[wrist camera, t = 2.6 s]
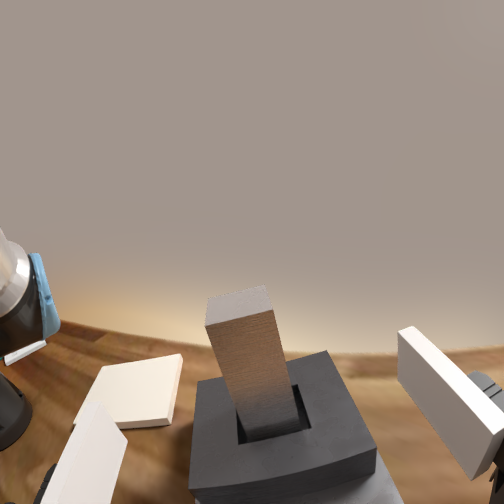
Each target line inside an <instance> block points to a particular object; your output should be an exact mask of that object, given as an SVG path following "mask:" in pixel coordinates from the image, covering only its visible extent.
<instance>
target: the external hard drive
mask: <svg viewBox="0 0 504 504" xmlns="http://www.w3.org/2000/svg"><path fill="white" fill-rule="evenodd" d="M45 345H47V344H46V342H45V340H44V341H38V342H36V343H33V344H31V345H29V346H27V347H24V348H22V349H20V350H17V351H15V352H13V353H11V354H8V355H6V356H4V358H5V364H6V365H7V366H8V365H10V364H11V363H13V362H15V361H17V360H19V359H21V358H23V357H25V356H26V355H28V354H30V353H32V352H34V351H36V350H38V349H40V348H41V347H43V346H45Z"/></svg>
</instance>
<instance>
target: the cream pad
mask: <svg viewBox="0 0 504 504" xmlns="http://www.w3.org/2000/svg"><path fill="white" fill-rule="evenodd" d="M182 362H183V359H182V356H181V354H175V355H170V356H165V357H159V358H154V359H148V360H142V361H136V362H130V363H124V364H117V365H110V366H103V367H102V369H101V371H100V372H99V374H98V376H97V378H96V380H95V382H94V384H93V385H92V387H91V389H90V391H89V393H88V395H87V397H86V399H85V401H84V403H83V405H82V406H81V408H80V410H79V412H78V414H77V416H76V418H75V420H74V422H73V424H74V426H76V424H77V422H78V420H79V418H80V416H81V414H82V412H83V410H84V408H85V406H86V404H87V403H88V402H96V401H101V402H102V404H103V405H104V407H105V409H106V410H107V412H108V413H109V415H110V416H111V418H112V419H113V421H114V422H115V424H116V425H117V427H118V428H119V429H125V428H140V427H151V426H162V425H171V421H172V416H173V410H174V405H175V399H176V394H177V388H178V383H179V378H180V373H181V367H182Z"/></svg>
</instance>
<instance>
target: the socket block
mask: <svg viewBox="0 0 504 504" xmlns="http://www.w3.org/2000/svg"><path fill="white" fill-rule="evenodd" d="M286 366H287V370H288V374H289V378H290V383H291V387H292V391H293V395H294V400H295V404H296V408H297V412H298V417H299V421H300V425H301V429H302V431H300V432H296V433H292V434H288V435H284V436H280V437H275V438H271V439H266V440H262V441H257V442H252V443H250V442H249V439H248V437H247V435H246V432H245V430H244V428H243V425H242V423H241V420H240V418H239V415H238V413H237V410H236V408H235V406H234V403H233V400H232V398H231V395H230V393H229V390H228V388H227V385H226V383H225V380H224V377H219V378H214V379H208V380H203V381H198V384H197V394H196V403H195V413H194V424H193V435H192V446H191V458H190V470H189V484H188V490H189V491H190V492H191V493H192V494H193V496H194V497H195V504H404V503H403V501H402V499H401V497H400V495H399V493H398V490H397V488H396V486H395V484H394V482H393V480H392V478H391V476H390V474H389V472H388V470H387V468H386V466H385V464H384V462H383V460H382V458H381V456H380V454H379V452H378V450H377V446H376V444H375V442H374V440H373V438H372V436H371V434H370V432H369V430H368V428H367V426H366V424H365V422H364V421H363V419H362V417H361V415H360V413H359V411H358V409H357V407H356V405H355V403H354V401H353V399H352V397H351V395H350V394H349V392H348V390H347V388H346V386H345V384H344V382H343V380H342V378H341V376H340V374H339V373H338V371H337V369H336V367H335V365H334V363H333V361H332V359H331V357H330V356H329V354H328V352H327V350H326V351H323V352H319V353H316V354H312V355H309V356H305V357H302V358H298V359H295V360H291V361H287V362H286Z"/></svg>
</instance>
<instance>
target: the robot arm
mask: <svg viewBox="0 0 504 504" xmlns="http://www.w3.org/2000/svg"><path fill="white" fill-rule="evenodd" d="M59 328H60V319H59V316H58V313H57V310H56V307H55V304H54V301H53V298H52V295H51V291H50V288H49V285H48V281H47V278H46V274H45V271H44V267H43V263H42V259H41V256H40V255H39V254H38V253H34V254H31V253H30V254H28V255H27V254H26V253H25V251H24V250H23V248H22V247H21V246H19V245H18V244H16V243H14V242H11V241H7V240H6V238H5V236H4V234H3V232H2V229H1V227H0V358H1V357H4V356H6V355H8V354H11V353H13V352H15V351H17V350H20V349H22V348H24V347H27V346H29V345H31V344H33V343H36V342H38V341H44V340H45V338H47V337H49V336H51V335H53V334H55V333H56V332H57V331H58V330H59ZM398 381H399V382H400V384H401V385H402V386H403V388H404V389H405V390H406V392H407V393H408V394H409V396H410V397H411V398H412V400H413V401H414V402H415V404H416V405H417V406H418V408H419V409H420V410H421V412H422V413H423V414H424V416H425V417H426V419H427V420H428V421H429V423H430V424H431V425H432V427H433V428H434V429H435V431H436V432H437V434H438V435H439V436H440V438H441V439H442V441H443V442H444V443H445V445H446V446H447V447H448V449H449V450H450V452H451V453H452V455H453V456H454V457H455V459H456V460H457V462H458V463H459V464H460V466H461V467H462V469H463V470H464V472H465V473H466V475H467V476H468V477H469V479H470V480H471V481H472V480H474V479H475V478H477V477H478V476H480V475H481V474H483V473H484V472H486V471H487V470H488V469H489V467H490V465H491V464H492V462H494V463H495V464H496V466H497V467H496V469H495V471H494V472H493V474H492V476H491V478H490V480H489V482H492V480H493V479H494V482H493V487H492V492H491V497H490V502H489V504H504V390H503V391H502V388H501V387H500V386H498V385H497V384H495V382H494V381H493V380H492V379H491V378H490V377H489V376H488V375H486V374H483V373H481V372H478V371H476V370H475V371H474V372H472V373H470V374H468V375H467V376H466V375H465V374H464V373H463V372H462V371H461V370H460V369H459V368H458V367H457V366H456V365H455V364H454V363H453V362H452V361H450V360H449V359H448V358H447V357H446V356H445V355H444V354H443V353H442V352H441V351H440V350H439V349H438V348H437V347H435V346H434V345H433V344H432V343H431V342H430V341H429V340H428V339H427V338H426V337H425V336H424V335H423V334H421V333H420V332H419V331H418V330H417V329H416V328H415V327H414V326H410V327H408V328H406V329H403V330H400V331H398ZM31 417H32V406H31V404H30V402H29V401H28V399H27V398H26V396H25V395H24V394H23V393H22V392H21V391H20V390H19V389H18V388H17V387H16V386H15V385H14V384H13V383H11V382H10V381H9V380H8V379H7V378H6V377H5V376H4V375H3V374H2V373H1V372H0V450H3V449H4V448H6V447H8V446H9V445H11V444H12V443H13V442H14V441H16V440H17V439H18V438H19V437H20V436H21V434H22V433H23V432H24V431H25V429H26V428H27V426H28V424H29V422H30V420H31ZM127 442H128V441H127V439H126V438H125V437H124V435H123V434H122V432H121V431H120V430H119V428H118V427H117V425H116V424H115V422H114V421H113V419H112V418H111V416H110V415H109V413H108V412H107V410H106V409H105V407H104V405H103V404H102V402H101V401H96V402H88V403H87V404H86V406H85V408H84V410H83V412H82V414H81V416H80V418H79V420H78V422H77V424H76V426H75V428H74V430H73V432H72V434H71V436H70V438H69V441H68V443H67V445H66V447H65V449H64V451H63V453H62V455H61V457H60V460H59V462H58V464H54V465H53V466H52V467H51V468H50V469H49V470H48V471H47V473H46V476H45V478H44V480H43V481H44V482H42V484H41V487H40V488H41V489H39V491H38V493H37V496H36V498H35V500H34V503H33V504H110V502H111V498H112V495H113V491H114V487H115V484H116V480H117V476H118V473H119V469H120V466H121V462H122V459H123V455H124V452H125V449H126V445H127ZM5 504H15V503H12V502H8V503H5Z"/></svg>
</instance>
